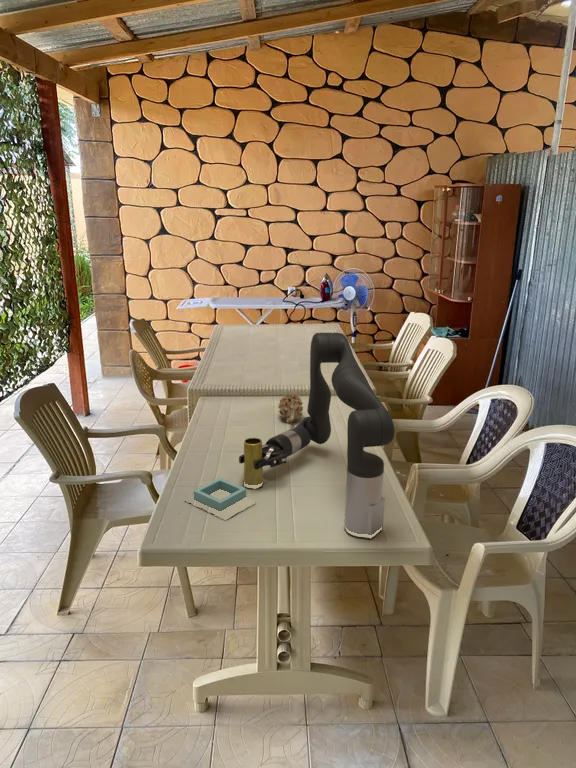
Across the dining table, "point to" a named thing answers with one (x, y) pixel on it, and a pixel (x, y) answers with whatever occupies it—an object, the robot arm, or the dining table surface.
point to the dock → (205, 491)
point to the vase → (252, 461)
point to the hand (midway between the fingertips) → (247, 463)
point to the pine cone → (291, 407)
